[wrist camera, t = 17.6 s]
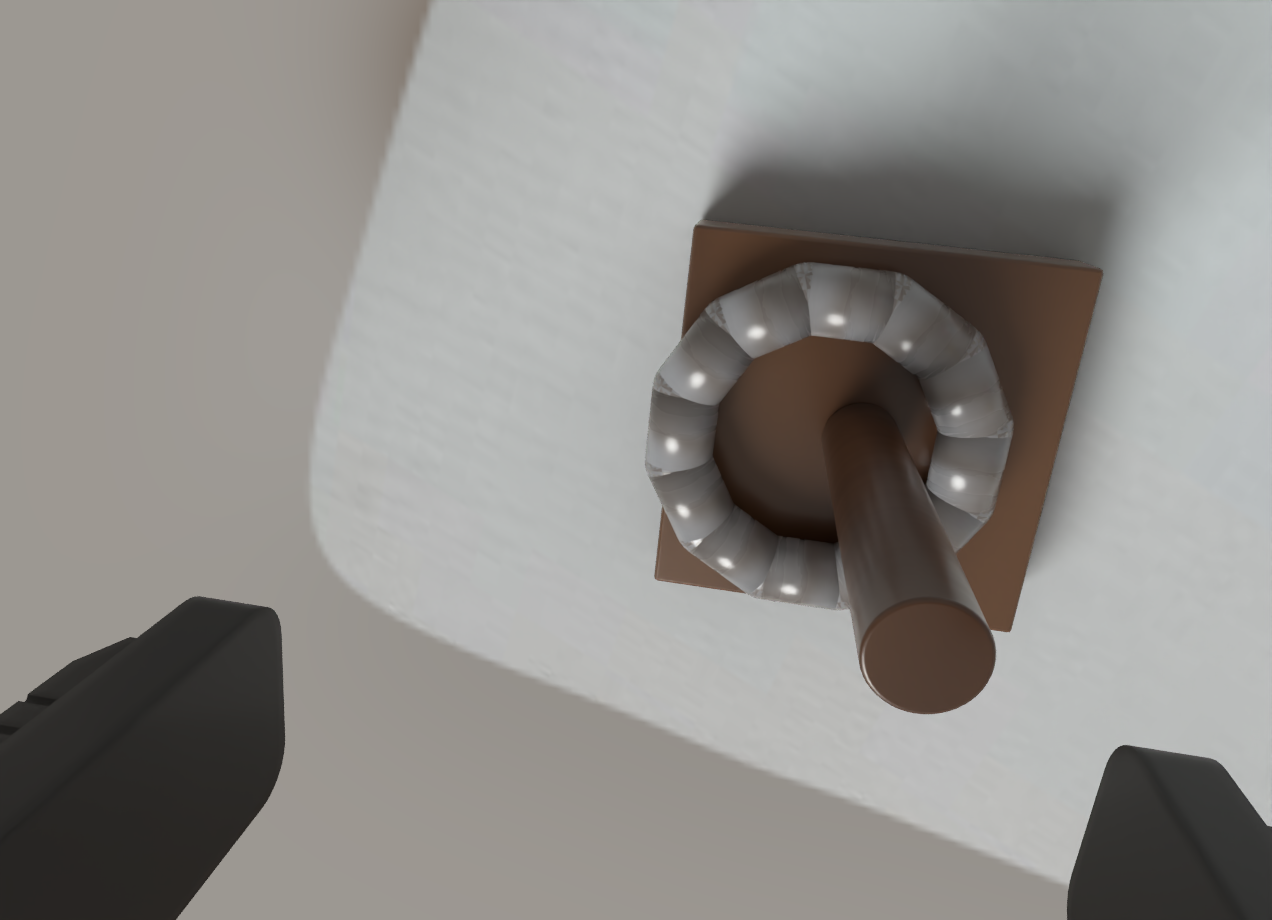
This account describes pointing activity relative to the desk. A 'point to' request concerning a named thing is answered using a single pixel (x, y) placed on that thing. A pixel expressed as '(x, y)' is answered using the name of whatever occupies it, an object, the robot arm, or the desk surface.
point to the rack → (893, 448)
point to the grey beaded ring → (778, 317)
